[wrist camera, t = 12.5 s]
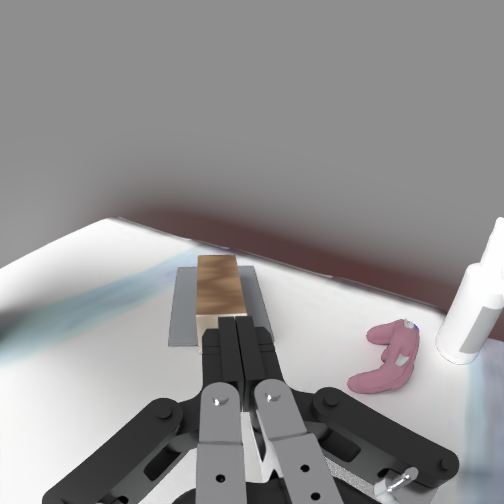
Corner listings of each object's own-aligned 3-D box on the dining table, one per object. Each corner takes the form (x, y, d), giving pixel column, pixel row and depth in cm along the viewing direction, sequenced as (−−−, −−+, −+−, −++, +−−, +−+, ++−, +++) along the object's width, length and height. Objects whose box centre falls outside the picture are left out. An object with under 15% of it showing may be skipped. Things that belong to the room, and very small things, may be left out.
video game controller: (370, 410, 25) (422, 383, 21) (341, 387, 26) (391, 355, 22) (388, 352, 33) (428, 322, 29) (364, 331, 34) (403, 298, 29)
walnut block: (196, 319, 28) (198, 255, 39) (199, 353, 30) (199, 286, 41) (247, 317, 28) (235, 254, 40) (245, 351, 31) (234, 285, 42)
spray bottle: (471, 372, 26) (537, 242, 18) (429, 353, 30) (485, 219, 22) (476, 343, 31) (527, 226, 22) (439, 326, 35) (483, 207, 26)
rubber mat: (273, 341, 33) (274, 339, 32) (168, 345, 31) (167, 344, 31) (252, 267, 47) (252, 265, 47) (177, 269, 46) (177, 267, 46)
